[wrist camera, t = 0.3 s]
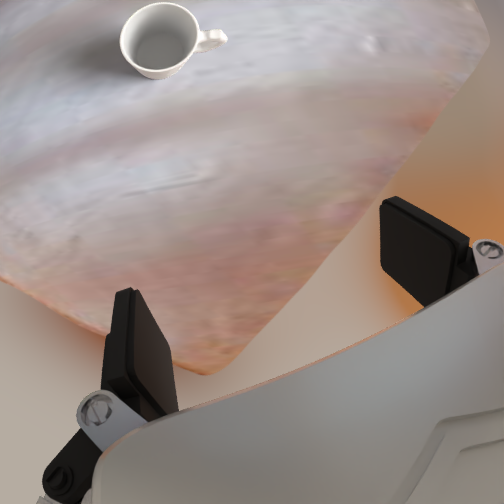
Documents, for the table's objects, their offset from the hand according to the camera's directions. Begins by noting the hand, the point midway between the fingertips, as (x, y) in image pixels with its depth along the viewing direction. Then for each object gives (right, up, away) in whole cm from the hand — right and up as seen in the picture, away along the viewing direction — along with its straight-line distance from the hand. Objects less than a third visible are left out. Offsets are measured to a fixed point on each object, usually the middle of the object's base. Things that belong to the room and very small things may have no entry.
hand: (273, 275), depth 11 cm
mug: (-10, +24, +20) cm, 33 cm away
